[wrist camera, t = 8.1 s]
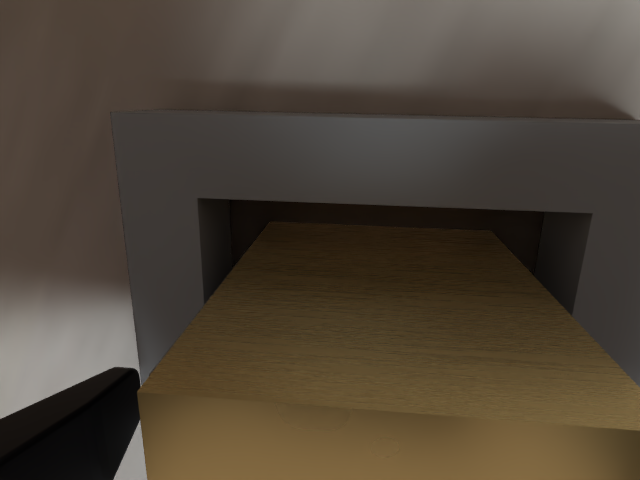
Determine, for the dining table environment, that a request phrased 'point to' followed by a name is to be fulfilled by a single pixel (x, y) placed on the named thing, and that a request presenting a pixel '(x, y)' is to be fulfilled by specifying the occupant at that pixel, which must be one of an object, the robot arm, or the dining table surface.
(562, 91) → the dining table surface
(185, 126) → the gray rectangular tray
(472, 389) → the metal-backed wooden cube
